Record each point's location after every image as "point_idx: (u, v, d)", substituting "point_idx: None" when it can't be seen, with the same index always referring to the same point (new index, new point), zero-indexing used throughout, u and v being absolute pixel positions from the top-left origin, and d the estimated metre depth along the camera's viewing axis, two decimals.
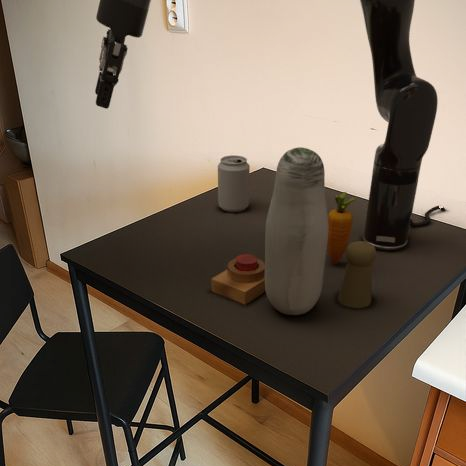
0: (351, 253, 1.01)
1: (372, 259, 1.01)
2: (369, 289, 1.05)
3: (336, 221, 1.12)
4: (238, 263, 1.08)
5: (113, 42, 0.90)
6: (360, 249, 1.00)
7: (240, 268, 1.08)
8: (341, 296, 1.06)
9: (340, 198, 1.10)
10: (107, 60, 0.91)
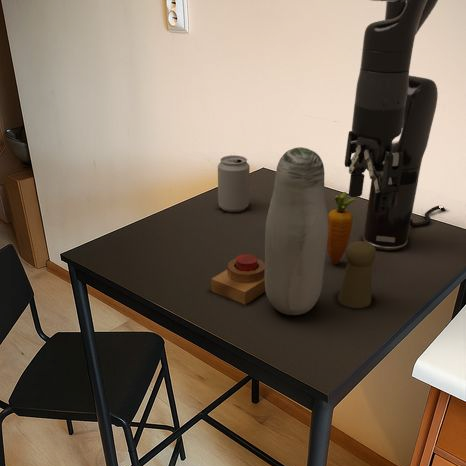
0: (351, 253, 1.01)
1: (372, 259, 1.01)
2: (369, 289, 1.05)
3: (336, 221, 1.12)
4: (238, 263, 1.08)
5: (391, 155, 0.86)
6: (360, 249, 1.00)
7: (240, 268, 1.08)
8: (341, 296, 1.06)
9: (340, 198, 1.10)
10: (388, 174, 0.88)
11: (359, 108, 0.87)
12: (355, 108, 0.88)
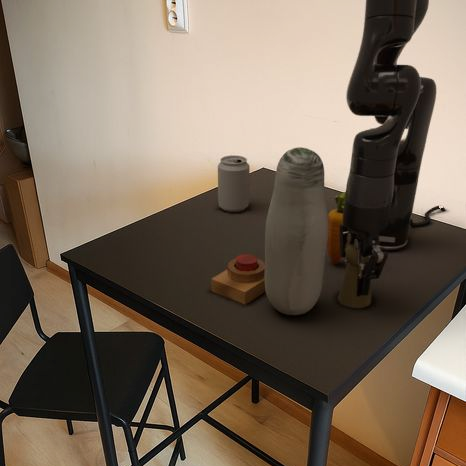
0: (351, 253, 1.01)
1: None
2: (369, 289, 1.05)
3: (336, 221, 1.12)
4: (238, 263, 1.08)
5: (377, 256, 0.96)
6: None
7: (240, 268, 1.08)
8: (341, 296, 1.06)
9: (340, 198, 1.10)
10: (371, 269, 0.98)
11: (349, 205, 0.96)
12: (345, 204, 0.97)
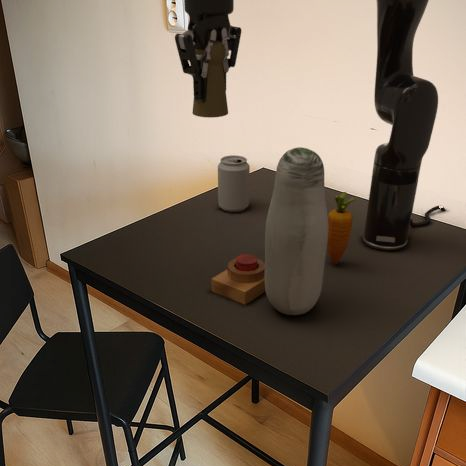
0: None
1: None
2: (208, 97, 0.95)
3: (336, 221, 1.12)
4: (238, 263, 1.08)
5: (177, 37, 0.88)
6: None
7: (240, 268, 1.08)
8: None
9: (340, 198, 1.10)
10: (180, 55, 0.90)
11: None
12: None
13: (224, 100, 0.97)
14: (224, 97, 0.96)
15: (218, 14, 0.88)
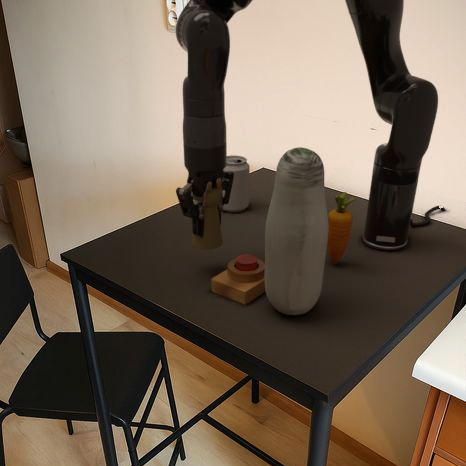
0: None
1: None
2: (205, 233, 1.09)
3: (336, 221, 1.12)
4: (238, 263, 1.08)
5: (177, 191, 1.02)
6: None
7: (240, 268, 1.08)
8: None
9: (340, 198, 1.10)
10: (180, 204, 1.05)
11: None
12: None
13: (219, 234, 1.11)
14: (219, 232, 1.11)
15: (213, 171, 1.02)
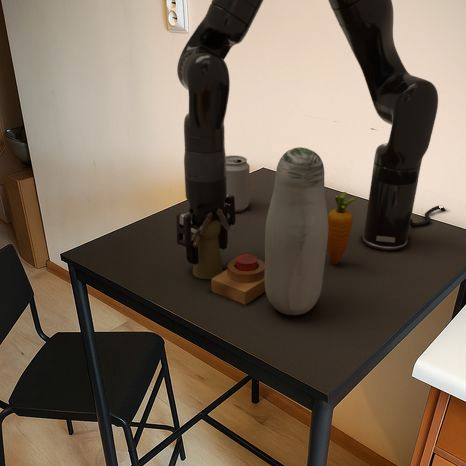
0: None
1: None
2: (206, 264, 1.13)
3: (336, 221, 1.12)
4: (238, 263, 1.08)
5: (178, 215, 1.05)
6: None
7: (240, 268, 1.08)
8: None
9: (340, 198, 1.10)
10: (177, 229, 1.06)
11: None
12: None
13: (219, 264, 1.14)
14: (219, 262, 1.14)
15: (213, 204, 1.05)
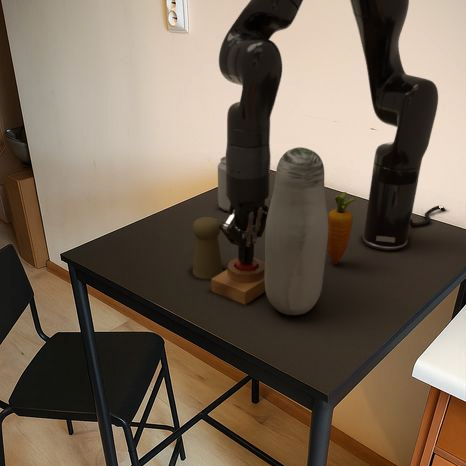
0: None
1: (203, 234, 1.10)
2: (206, 264, 1.13)
3: (336, 221, 1.12)
4: (238, 266, 1.08)
5: (221, 227, 1.00)
6: (197, 221, 1.10)
7: None
8: None
9: (340, 198, 1.10)
10: (226, 236, 1.03)
11: None
12: None
13: (219, 264, 1.14)
14: (219, 262, 1.14)
15: (256, 202, 0.99)
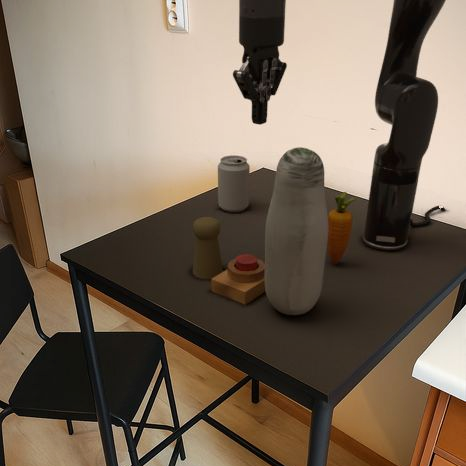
0: None
1: (203, 234, 1.10)
2: (206, 264, 1.13)
3: (336, 221, 1.12)
4: (238, 263, 1.08)
5: (235, 75, 0.97)
6: (197, 221, 1.10)
7: (240, 268, 1.08)
8: None
9: (340, 198, 1.10)
10: (239, 87, 1.00)
11: None
12: None
13: (219, 264, 1.14)
14: (219, 262, 1.14)
15: (271, 46, 0.96)
